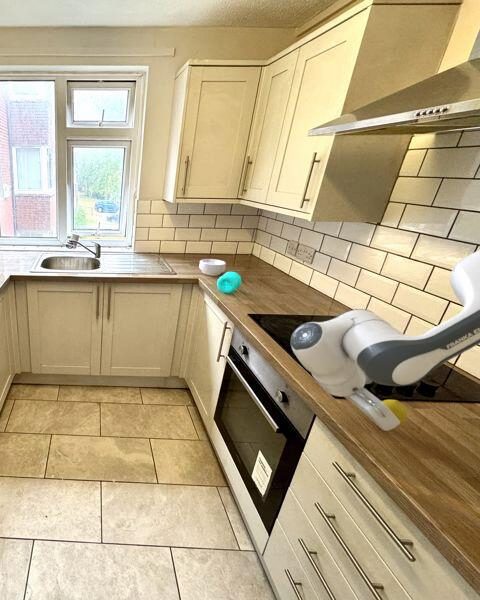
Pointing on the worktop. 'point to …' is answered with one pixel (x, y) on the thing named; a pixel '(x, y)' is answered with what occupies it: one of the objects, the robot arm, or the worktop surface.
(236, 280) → the turquoise rounded cylinder
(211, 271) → the paper bowls
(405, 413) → the lemon
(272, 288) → the worktop surface
